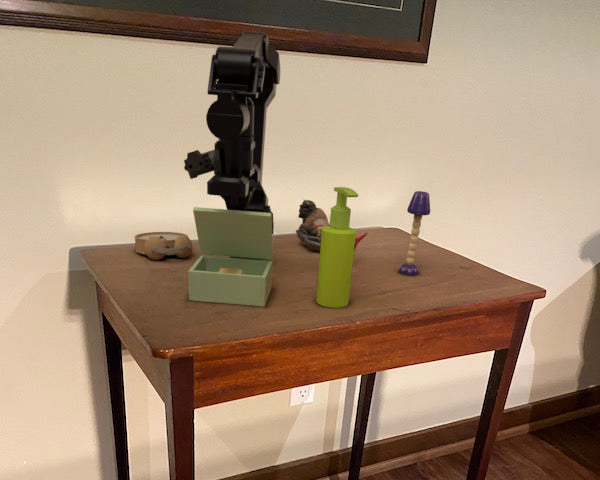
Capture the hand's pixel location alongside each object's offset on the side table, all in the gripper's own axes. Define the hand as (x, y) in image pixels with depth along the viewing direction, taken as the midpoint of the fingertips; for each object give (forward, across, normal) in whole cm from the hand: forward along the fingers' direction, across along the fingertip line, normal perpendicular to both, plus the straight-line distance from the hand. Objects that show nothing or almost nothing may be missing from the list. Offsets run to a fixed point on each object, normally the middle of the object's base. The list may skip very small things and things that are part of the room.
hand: (234, 229), depth 109 cm
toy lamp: (+11, -20, +34) cm, 41 cm away
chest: (+11, +3, 0) cm, 11 cm away
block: (+10, +4, 0) cm, 11 cm away
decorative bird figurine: (+11, -20, +20) cm, 31 cm away
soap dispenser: (+11, +3, +19) cm, 22 cm away
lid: (+1, +1, 0) cm, 1 cm away
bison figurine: (+11, -35, +13) cm, 39 cm away
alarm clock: (+11, -20, -18) cm, 29 cm away
